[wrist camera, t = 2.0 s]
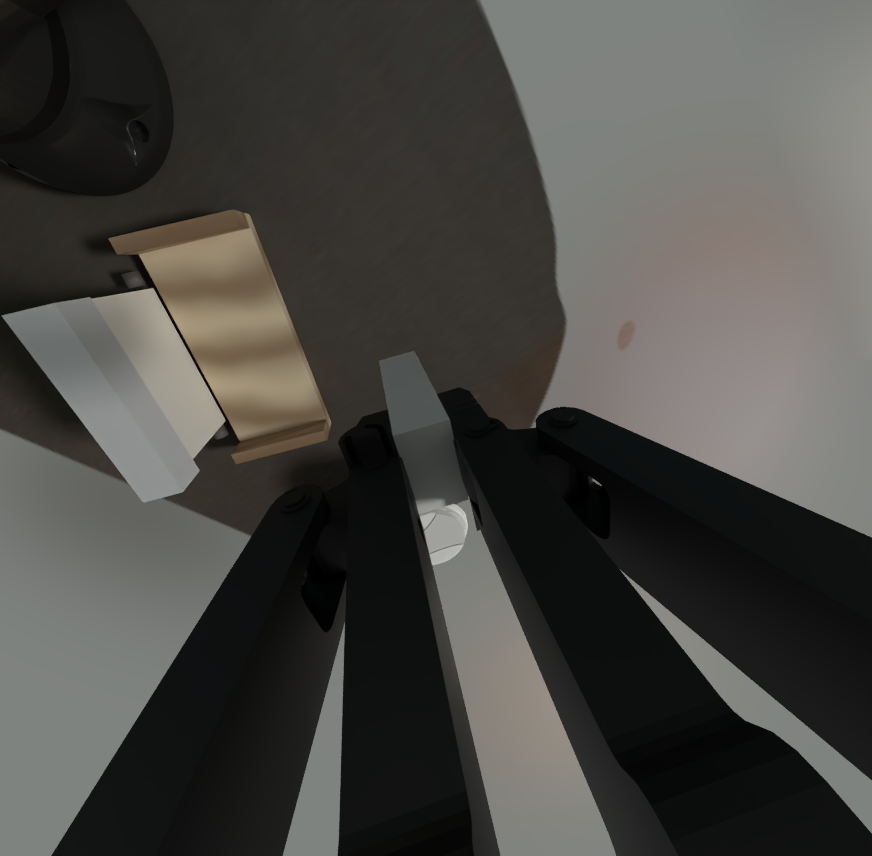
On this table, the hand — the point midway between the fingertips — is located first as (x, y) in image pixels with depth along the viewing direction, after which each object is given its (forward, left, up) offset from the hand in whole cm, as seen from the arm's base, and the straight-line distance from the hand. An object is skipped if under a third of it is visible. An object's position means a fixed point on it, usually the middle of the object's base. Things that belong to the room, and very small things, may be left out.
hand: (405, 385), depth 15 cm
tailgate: (+1, -20, -25) cm, 32 cm away
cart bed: (+1, -16, -26) cm, 31 cm away
